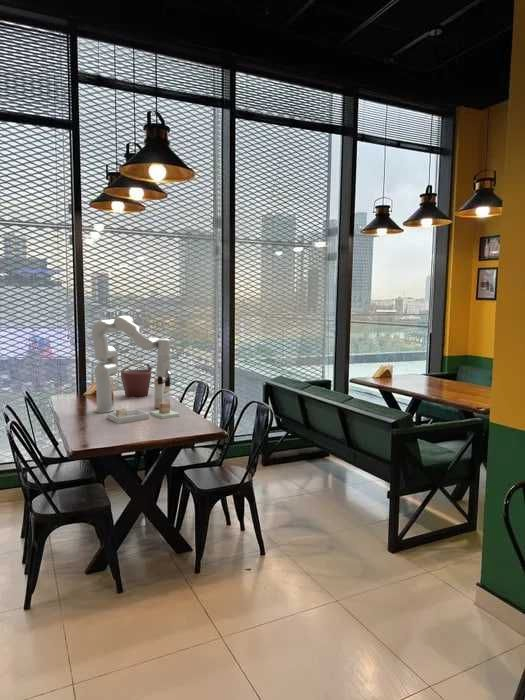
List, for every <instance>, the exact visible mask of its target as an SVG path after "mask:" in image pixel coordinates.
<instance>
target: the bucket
mask: <svg viewBox="0 0 525 700" xmlns="http://www.w3.org/2000/svg"><path fill="white" fill-rule="evenodd" d="M134 365H145V366H146V367H147V369H140V368H139V369H128V368H130V367H132V366H134ZM126 369H127V370H126ZM152 371H153V367H152V366H150V364H149V363H147V362H146V363H144V362H134V363H130V364H128V365H127V366H125V367H123V368H122V369H121V370H120V376H121V377H120V378H121V382H122V386H123V390H124V394H125V397H127V398H129V397H135V398H136V399H139V398H140V397H141V398H146V397H149V391H150V390H149V389H150V383H151V378H152ZM145 396H146V397H145Z"/></svg>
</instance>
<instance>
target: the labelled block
mask: <svg viewBox="0 0 525 700" xmlns="http://www.w3.org/2000/svg"><path fill="white" fill-rule="evenodd" d="M158 410H159V412H160V413H162V414H164V413H170V410H171V402H170V403H168V402H162V403H159V409H158Z"/></svg>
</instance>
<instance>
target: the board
mask: <svg viewBox="0 0 525 700" xmlns="http://www.w3.org/2000/svg"><path fill="white" fill-rule="evenodd" d="M149 415H153V416H155V417H157V418H159V419H167V418H168V419H169V418H178V417H177V416H179V417H180V413H179V412H178V411H174V410H171V409H170V413H164V414H162V413H160V412H159V409H158V410H152V411H149Z"/></svg>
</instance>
